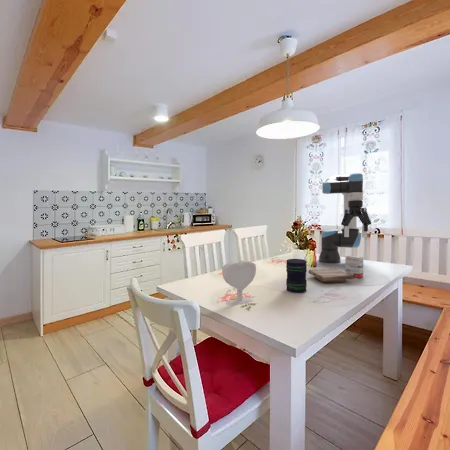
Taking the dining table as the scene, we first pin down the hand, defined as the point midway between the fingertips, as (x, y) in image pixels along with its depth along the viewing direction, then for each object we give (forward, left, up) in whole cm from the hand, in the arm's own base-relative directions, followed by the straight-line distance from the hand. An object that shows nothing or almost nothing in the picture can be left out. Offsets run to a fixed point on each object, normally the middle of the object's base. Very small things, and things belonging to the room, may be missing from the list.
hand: (355, 237), depth 156 cm
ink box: (-1, 0, -24) cm, 23 cm away
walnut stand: (+2, -17, -23) cm, 29 cm away
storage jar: (+16, -43, -23) cm, 51 cm away
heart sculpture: (+26, -74, -23) cm, 82 cm away
